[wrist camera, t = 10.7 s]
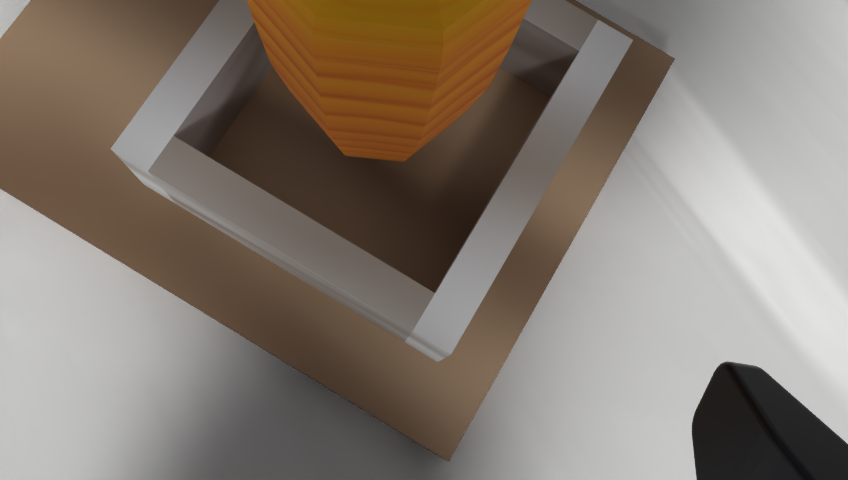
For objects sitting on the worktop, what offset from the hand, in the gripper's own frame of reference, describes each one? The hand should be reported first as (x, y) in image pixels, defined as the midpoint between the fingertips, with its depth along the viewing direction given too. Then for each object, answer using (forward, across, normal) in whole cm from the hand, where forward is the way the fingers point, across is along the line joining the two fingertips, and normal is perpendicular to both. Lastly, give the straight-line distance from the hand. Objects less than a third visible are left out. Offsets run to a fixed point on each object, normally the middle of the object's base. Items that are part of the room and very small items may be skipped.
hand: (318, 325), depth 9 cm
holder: (+14, +2, +4) cm, 15 cm away
